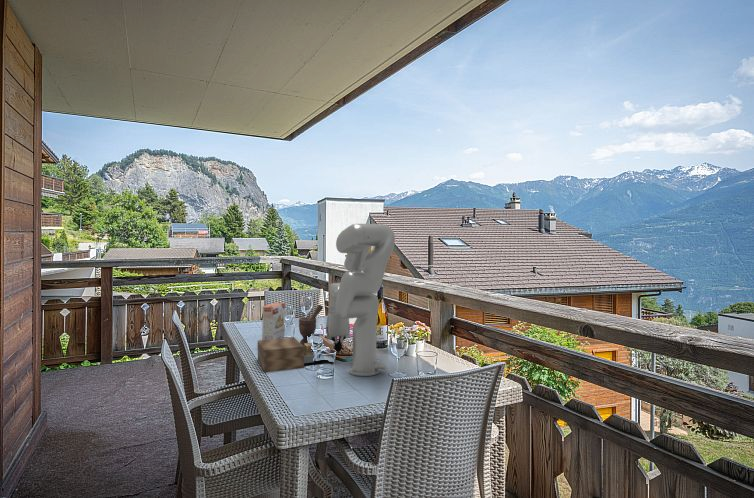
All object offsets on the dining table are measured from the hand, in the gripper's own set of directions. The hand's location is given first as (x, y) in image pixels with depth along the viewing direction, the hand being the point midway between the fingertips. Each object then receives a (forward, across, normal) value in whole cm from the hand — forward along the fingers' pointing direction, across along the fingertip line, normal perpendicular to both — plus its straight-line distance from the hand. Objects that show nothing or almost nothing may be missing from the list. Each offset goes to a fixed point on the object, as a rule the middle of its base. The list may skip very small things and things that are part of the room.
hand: (338, 351), depth 193 cm
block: (+1, +12, 0) cm, 13 cm away
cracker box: (+3, +23, -30) cm, 38 cm away
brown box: (+3, +26, 0) cm, 26 cm away
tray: (+2, +13, 0) cm, 13 cm away
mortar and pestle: (+3, +5, -28) cm, 29 cm away
